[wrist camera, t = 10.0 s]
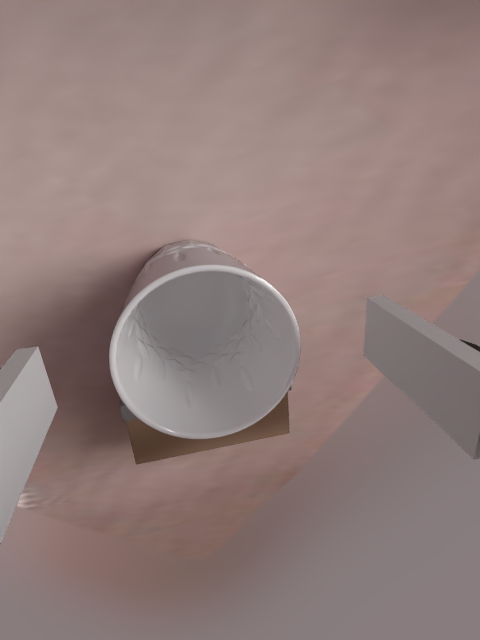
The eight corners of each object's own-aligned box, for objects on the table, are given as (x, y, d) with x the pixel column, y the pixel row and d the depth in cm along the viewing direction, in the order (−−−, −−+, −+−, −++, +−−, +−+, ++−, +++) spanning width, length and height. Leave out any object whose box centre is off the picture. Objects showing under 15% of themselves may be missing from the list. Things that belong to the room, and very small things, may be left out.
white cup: (185, 368, 27) (200, 469, 18) (100, 287, 24) (63, 359, 14) (272, 295, 26) (334, 360, 17) (196, 202, 23) (221, 220, 14)
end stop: (125, 367, 26) (119, 406, 21) (269, 343, 27) (290, 375, 23) (138, 426, 27) (135, 473, 23) (272, 400, 29) (293, 440, 25)
